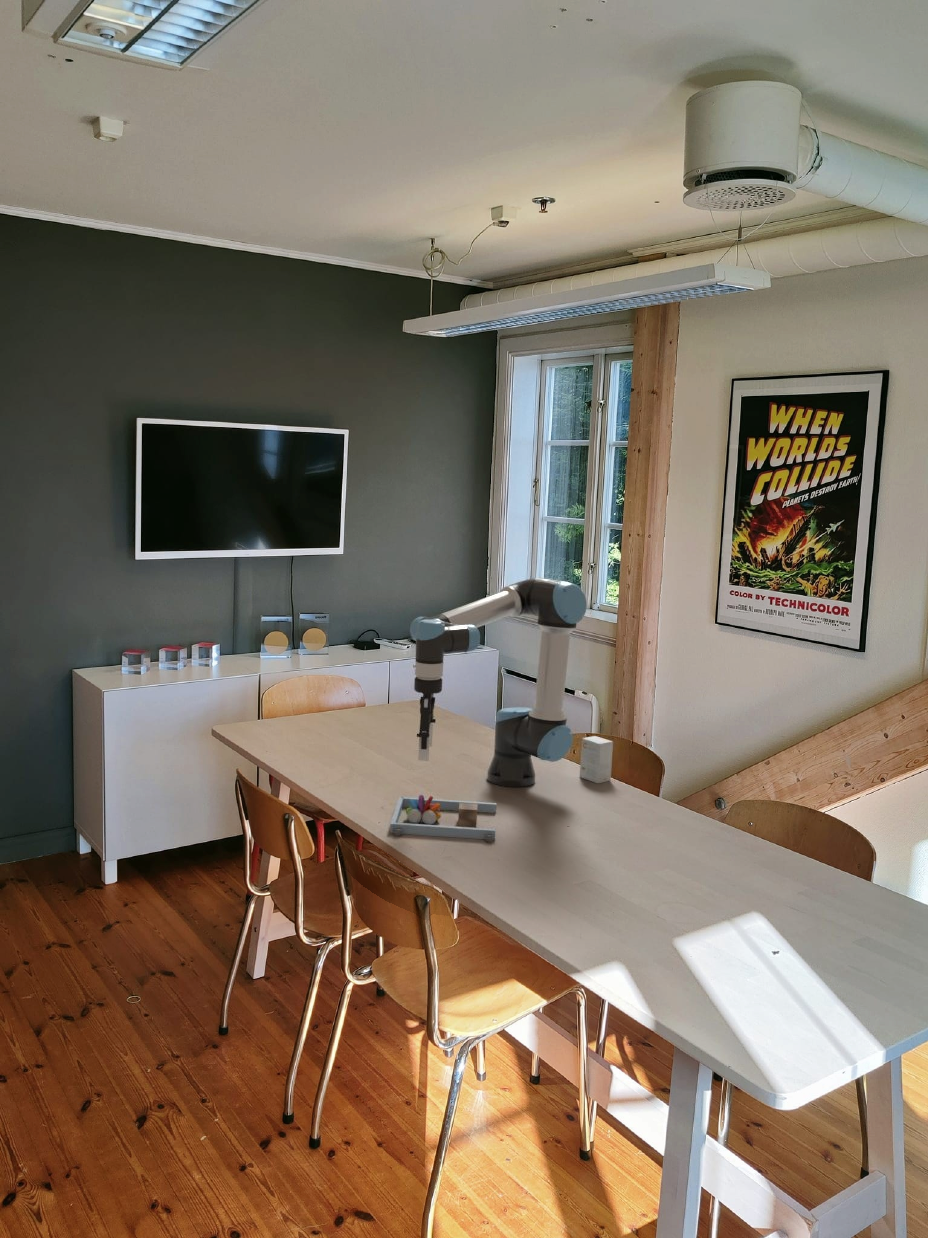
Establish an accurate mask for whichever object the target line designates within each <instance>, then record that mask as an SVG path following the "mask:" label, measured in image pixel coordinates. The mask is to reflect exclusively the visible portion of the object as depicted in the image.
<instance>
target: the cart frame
mask: <svg viewBox="0 0 928 1238" xmlns="http://www.w3.org/2000/svg"><path fill="white" fill-rule="evenodd" d="M411 799H415V800H416V801H417V802H418V803H419V797H407V796H405V797H404V796H399V797H398V800H397V802H396V806H395V808H394V812H393V815H392V817H391V821H390V824H389V825H390V826H389V833H390V834H393V836H394V837H402V835H416V836H431V837H447V838H461V839H475V840H484V842H486V843H489V844H490V843H493V841H496V832H497V831H496V829H494V828H485V827H483V828H481V827H462V826H451V825H435V824H431V825H427V824H425V823H424V824H421V823H420V824H419V823H406V822H399V820H400V817H401V814H402V809H404V808H410V807H411V805H410V800H411ZM428 799H429V798H425V797H424V801H425V804H426V803H427V801H428ZM436 803H439V804H440V808H439V810H442V811H443V810H446V811H458V812H459V803H469V804H478V805H477V813H490V814H497V813H496V812H497V803H496V802H483V801H468V800H454V799H453V800H451V799H439V798H438V799H436V798H433V799H432V801H431V803H430V804H436Z"/></svg>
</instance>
